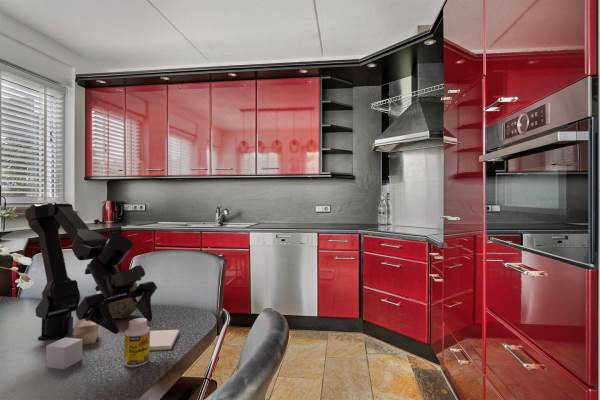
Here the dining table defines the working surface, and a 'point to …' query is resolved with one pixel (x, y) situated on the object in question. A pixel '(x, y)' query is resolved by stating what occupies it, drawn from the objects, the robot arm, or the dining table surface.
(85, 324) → the birch block
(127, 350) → the supplement bottle
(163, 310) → the dining table surface
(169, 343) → the cream square tile
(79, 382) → the dining table surface
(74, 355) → the pale grey block
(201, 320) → the dining table surface
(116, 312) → the decorative egg
